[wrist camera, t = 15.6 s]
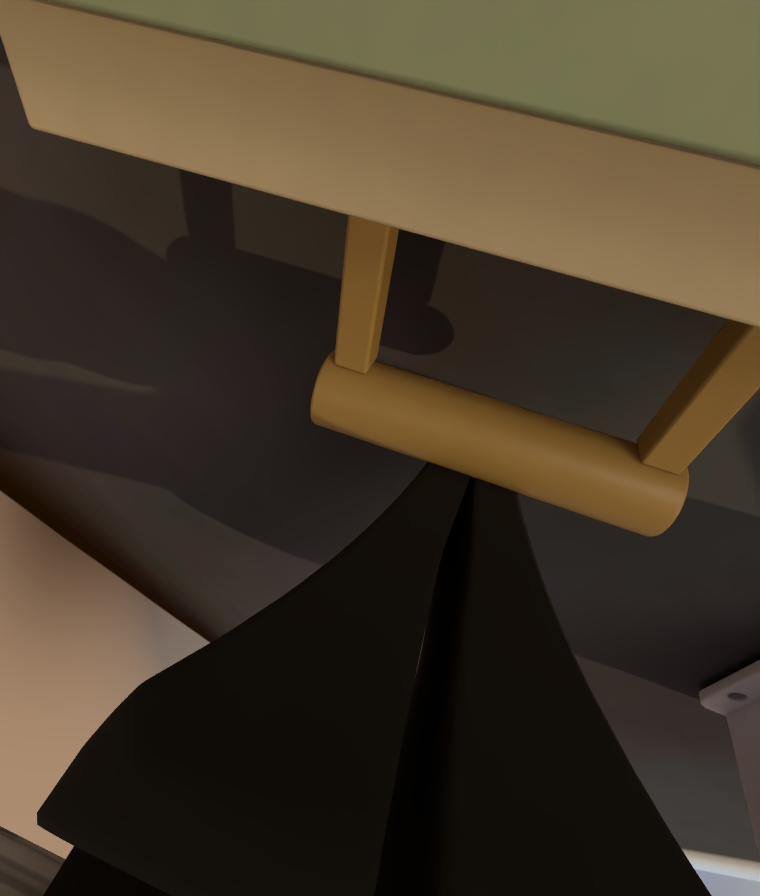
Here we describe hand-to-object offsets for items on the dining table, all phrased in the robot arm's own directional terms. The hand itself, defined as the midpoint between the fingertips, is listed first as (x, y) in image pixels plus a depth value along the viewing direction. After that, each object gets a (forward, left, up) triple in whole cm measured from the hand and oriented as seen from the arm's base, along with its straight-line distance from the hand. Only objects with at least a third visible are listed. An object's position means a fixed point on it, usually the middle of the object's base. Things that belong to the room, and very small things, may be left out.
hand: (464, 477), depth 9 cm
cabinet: (+14, 0, -3) cm, 14 cm away
